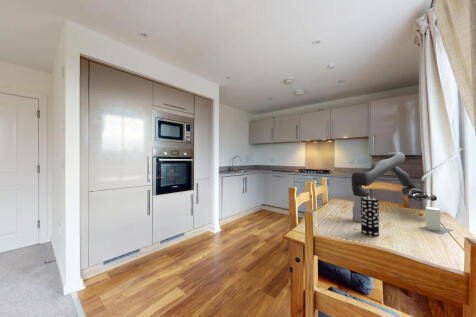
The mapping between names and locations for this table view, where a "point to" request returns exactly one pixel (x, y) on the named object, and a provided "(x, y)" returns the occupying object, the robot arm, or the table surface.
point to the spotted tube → (370, 216)
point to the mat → (443, 230)
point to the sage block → (433, 219)
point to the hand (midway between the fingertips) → (424, 199)
